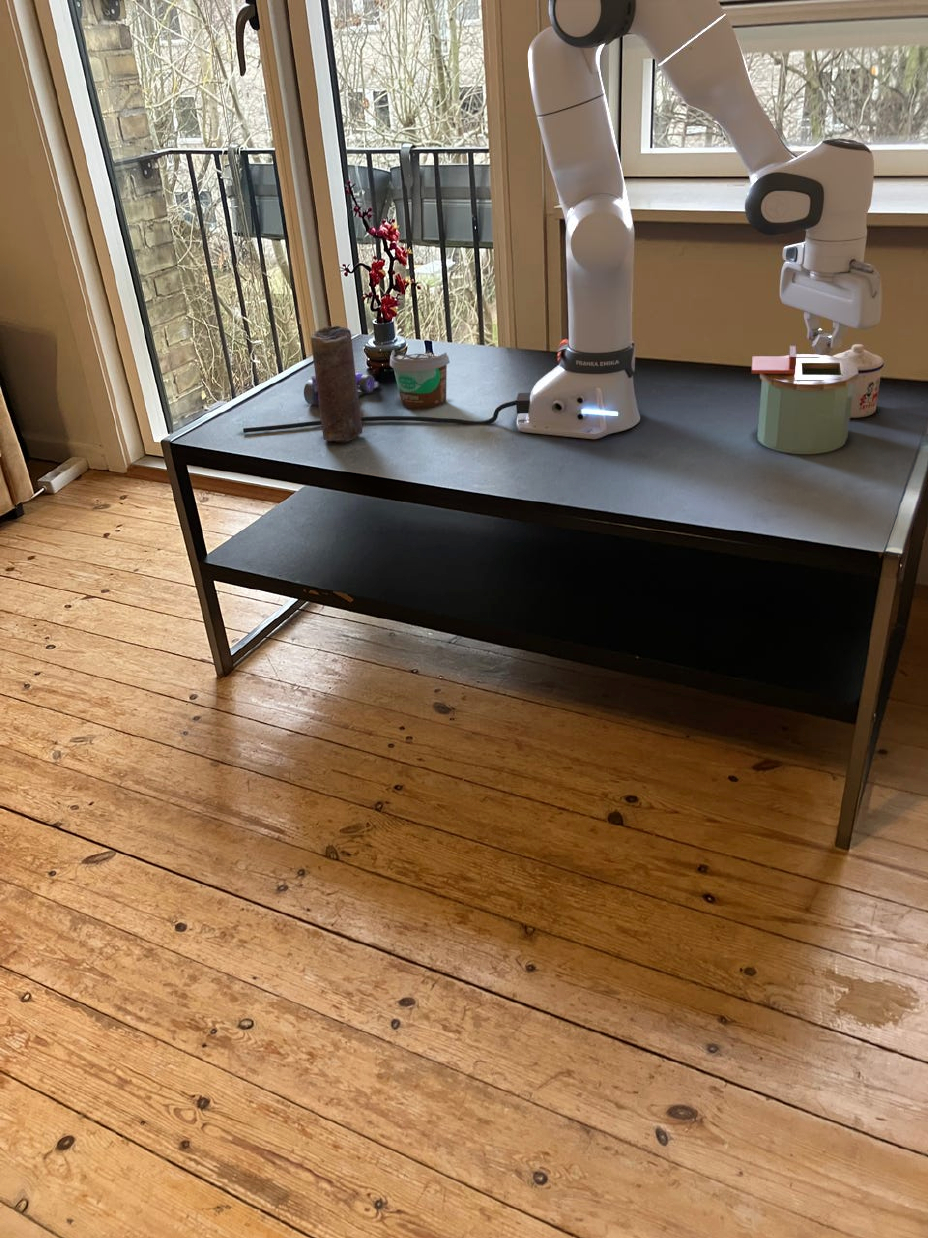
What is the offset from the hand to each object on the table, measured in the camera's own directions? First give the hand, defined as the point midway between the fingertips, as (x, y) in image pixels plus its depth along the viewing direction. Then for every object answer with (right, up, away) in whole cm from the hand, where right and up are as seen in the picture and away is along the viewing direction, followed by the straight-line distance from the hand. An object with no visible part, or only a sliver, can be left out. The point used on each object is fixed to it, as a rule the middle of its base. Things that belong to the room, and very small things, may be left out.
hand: (823, 343), depth 162 cm
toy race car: (-82, +1, +45) cm, 94 cm away
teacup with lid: (+12, -6, +19) cm, 23 cm away
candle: (-80, -11, +25) cm, 85 cm away
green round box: (-1, -14, +9) cm, 16 cm away
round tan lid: (-2, -4, +3) cm, 5 cm away
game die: (0, -1, +1) cm, 2 cm away
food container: (-67, -2, +37) cm, 77 cm away
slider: (-7, -3, +4) cm, 8 cm away
